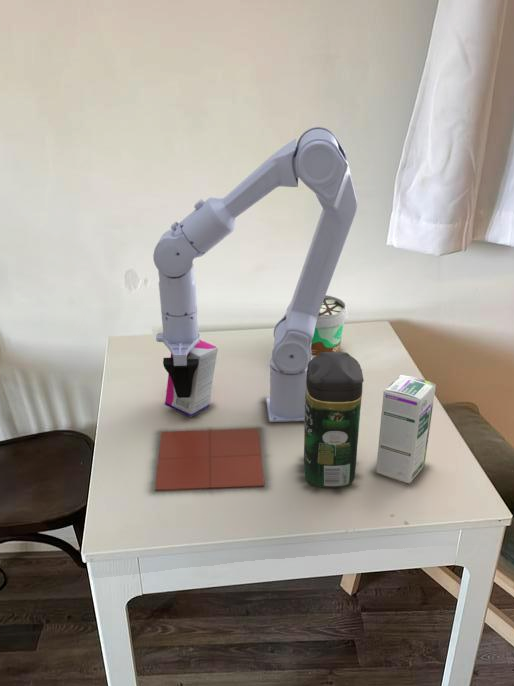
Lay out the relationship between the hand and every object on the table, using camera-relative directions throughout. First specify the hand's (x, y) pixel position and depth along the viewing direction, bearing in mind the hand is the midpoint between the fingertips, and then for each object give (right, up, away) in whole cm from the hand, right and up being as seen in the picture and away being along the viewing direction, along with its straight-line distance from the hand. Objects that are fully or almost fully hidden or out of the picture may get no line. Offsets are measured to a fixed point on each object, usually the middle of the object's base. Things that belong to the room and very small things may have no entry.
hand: (184, 385), depth 119 cm
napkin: (+5, -13, -10) cm, 17 cm away
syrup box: (+35, -15, -12) cm, 39 cm away
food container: (+27, +9, +21) cm, 35 cm away
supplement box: (0, -3, +2) cm, 4 cm away
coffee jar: (+24, -15, -13) cm, 31 cm away
